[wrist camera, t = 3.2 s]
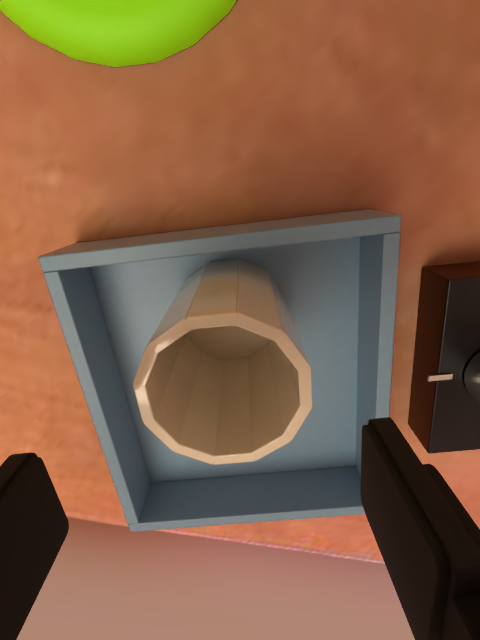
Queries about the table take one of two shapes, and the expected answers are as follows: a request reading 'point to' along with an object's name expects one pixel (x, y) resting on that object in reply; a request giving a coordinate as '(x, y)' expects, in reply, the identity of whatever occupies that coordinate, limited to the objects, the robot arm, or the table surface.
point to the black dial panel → (446, 358)
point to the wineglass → (117, 26)
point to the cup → (225, 368)
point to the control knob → (473, 377)
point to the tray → (314, 332)
